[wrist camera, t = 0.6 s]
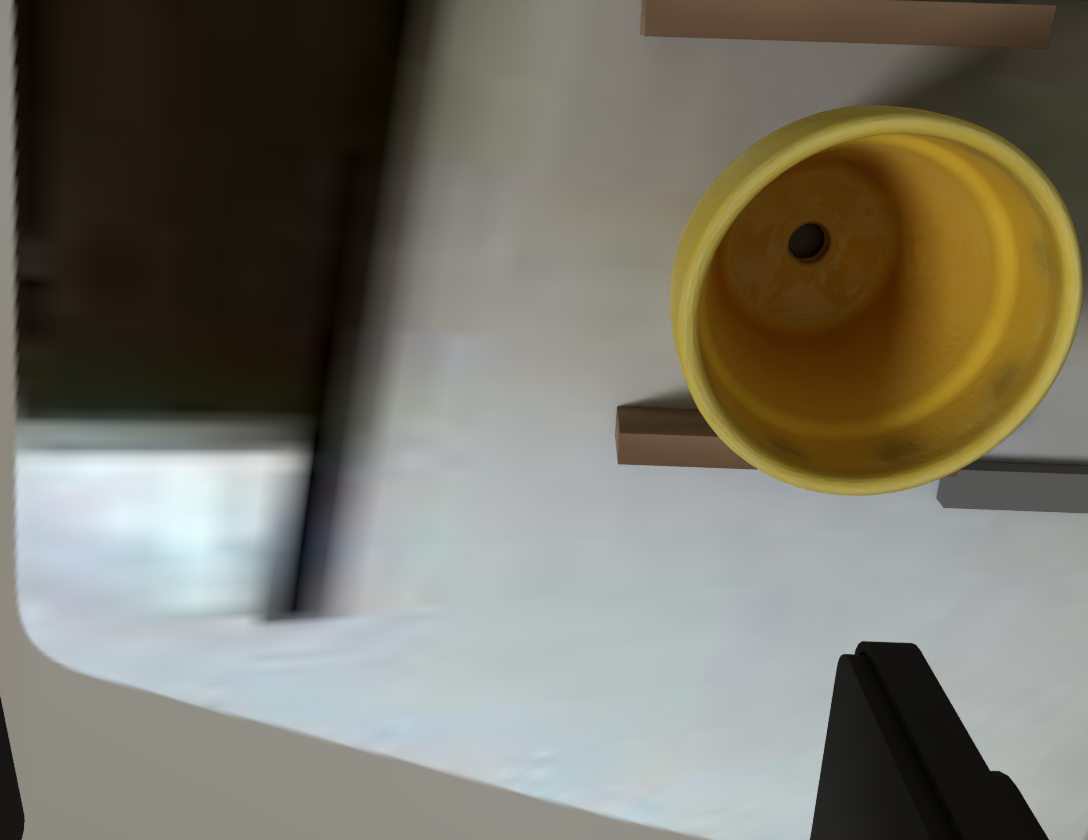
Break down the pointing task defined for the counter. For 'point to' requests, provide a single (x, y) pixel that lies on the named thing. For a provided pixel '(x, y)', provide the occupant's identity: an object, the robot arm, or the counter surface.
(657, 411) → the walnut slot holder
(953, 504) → the rubber strips
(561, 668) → the counter surface
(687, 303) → the plant pot
